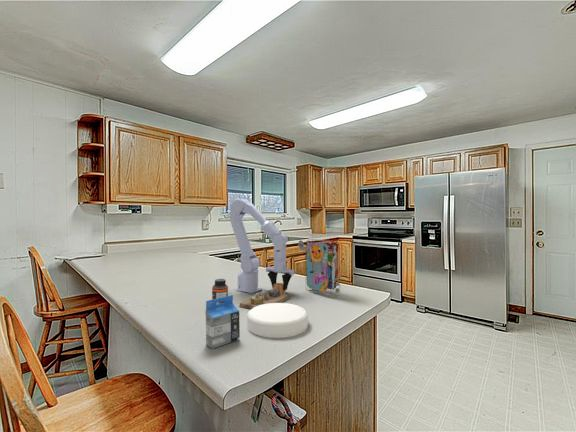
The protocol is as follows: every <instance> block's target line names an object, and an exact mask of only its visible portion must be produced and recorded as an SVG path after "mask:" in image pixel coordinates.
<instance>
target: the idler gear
mask: <svg viewBox="0 0 576 432" xmlns="http://www.w3.org/2000/svg"><path fill="white" fill-rule="evenodd" d="M274 287H276V290H279V291H280V293H281V294H286V292H287V291H286V290H283V282H276V283H275V284H274Z"/></svg>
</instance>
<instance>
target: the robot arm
mask: <svg viewBox="0 0 576 432" xmlns="http://www.w3.org/2000/svg"><path fill="white" fill-rule="evenodd" d="M229 208H230V210H229V211H230V213H229V222H230V225H231V227H232V230H233V233H234V236H235V239H236V242H237V245H238V248H239V251H240V254H241V255H240V258H239V260H240V269H241V271H240V272H239V273H238V274H237V289H236V291H238V292H243V293H249V294H255V293H257V292H259V291H262V289H263V288H261V287H259V267H260V266H261V261H260V259H259V258H258V257H257V254H256V253H255V251H254V250H253V249H252V245H251V243H250V240H249V237H248V234H247V231H246V229H245V226H244V223H243V219H244V216H245V215H246V214H248V215H250V216H251V217H252V218H253V219H255V221H257V222H258V223H259V225H261V230H262V231H263V233H265V235H267V236H268V238H269V239H270V240H271V243H272V245H273V267H272V266H271V267H270V266H268V267H265V272H266V273H267V276H268V278H269V281H270V284H271V286H272V287H271V288H272V289H273V287H274V284H275V283H277V280H278V279H277V278H278V274H282V275H281V277H282V283H283V290H288V286H289V282H290V280H291V278H292V276H294V275H295V270H294V269H290V268H287V243H288V236H287V235H286V233H285V232H282V230H281V229H279V228H278V227H277V226H276V223H275V222H274V221H271V220H267V219H266V218H265V217H264V215H263V214H262V213H261V212H260V211H259V209H258V208H257V206H255V205H254V203H252V202H251V201H250V200H249V199H248V198H247V199H246V198H239V197H238V198H234V199H233V200H232V201H231V203H230V205H229Z"/></svg>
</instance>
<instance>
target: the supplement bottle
mask: <svg viewBox="0 0 576 432" xmlns="http://www.w3.org/2000/svg"><path fill="white" fill-rule="evenodd" d="M211 288H212V289H211V300H213V299H218V298H222V297H227V296H229V286H228V284H227V282H226V279H225V278H216V279H214V285H212V287H211ZM222 303H224V301H222V302H221V301H219V302H218V303H216V304H215V305H218V304H222Z"/></svg>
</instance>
